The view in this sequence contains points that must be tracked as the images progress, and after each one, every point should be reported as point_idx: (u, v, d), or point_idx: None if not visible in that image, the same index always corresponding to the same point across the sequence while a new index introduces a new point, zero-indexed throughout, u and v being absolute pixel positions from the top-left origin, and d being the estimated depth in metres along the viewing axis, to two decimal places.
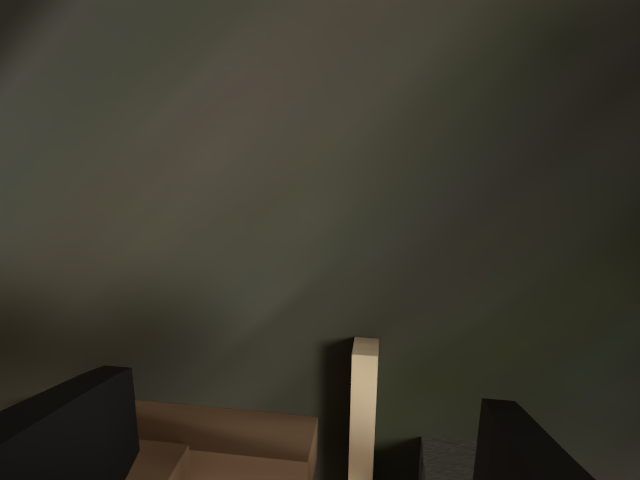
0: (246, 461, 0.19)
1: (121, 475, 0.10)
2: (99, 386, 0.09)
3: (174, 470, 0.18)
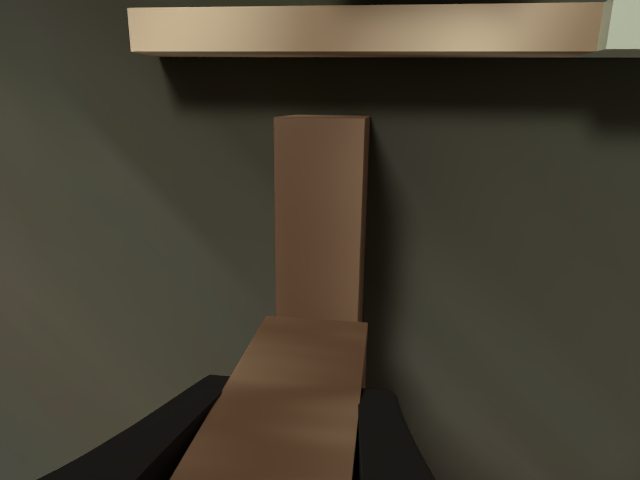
0: (285, 224, 0.11)
1: None
2: None
3: (254, 341, 0.11)
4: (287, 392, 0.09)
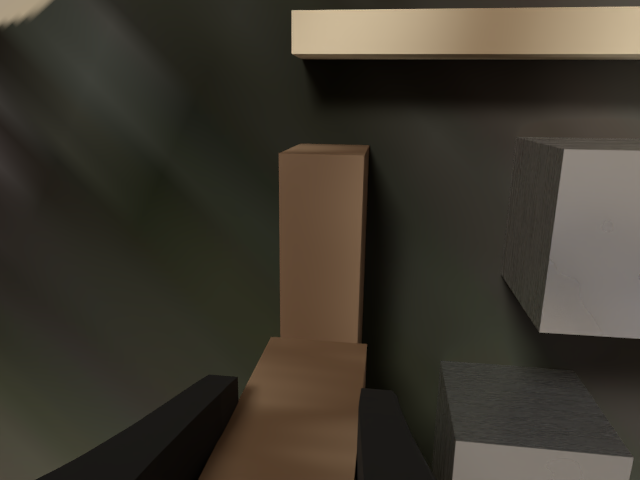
0: (289, 252, 0.12)
1: None
2: (218, 397, 0.09)
3: (260, 363, 0.12)
4: (292, 415, 0.10)
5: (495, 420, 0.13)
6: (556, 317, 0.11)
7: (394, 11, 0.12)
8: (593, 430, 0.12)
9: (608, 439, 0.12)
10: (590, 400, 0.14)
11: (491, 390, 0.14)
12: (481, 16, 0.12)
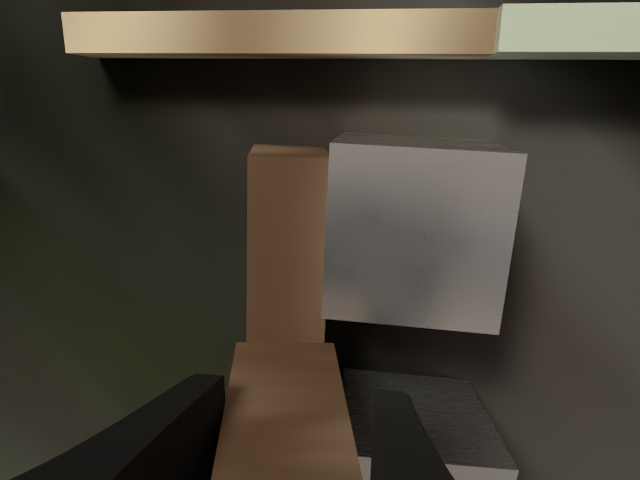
0: (257, 255, 0.12)
1: None
2: (203, 396, 0.09)
3: (234, 370, 0.11)
4: (283, 420, 0.10)
5: None
6: (335, 304, 0.11)
7: (152, 13, 0.13)
8: (484, 443, 0.13)
9: (497, 451, 0.12)
10: (482, 412, 0.14)
11: None
12: (228, 18, 0.12)
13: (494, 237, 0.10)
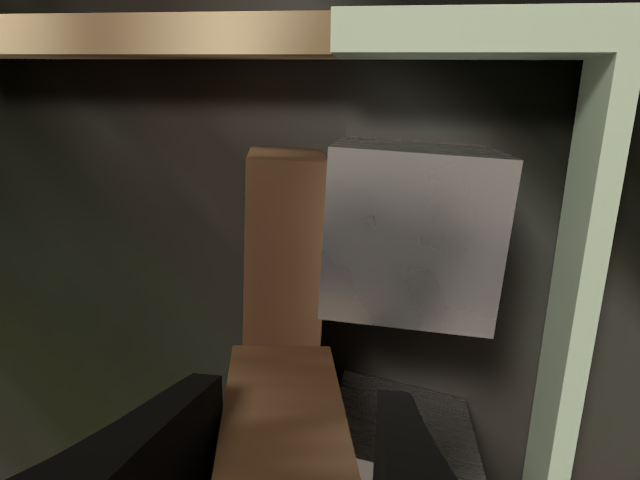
0: (254, 259, 0.12)
1: None
2: (200, 395, 0.09)
3: (231, 374, 0.11)
4: (282, 425, 0.10)
5: None
6: (332, 305, 0.11)
7: (15, 15, 0.13)
8: (462, 461, 0.13)
9: (473, 471, 0.13)
10: (470, 432, 0.14)
11: None
12: (86, 20, 0.13)
13: (489, 242, 0.11)
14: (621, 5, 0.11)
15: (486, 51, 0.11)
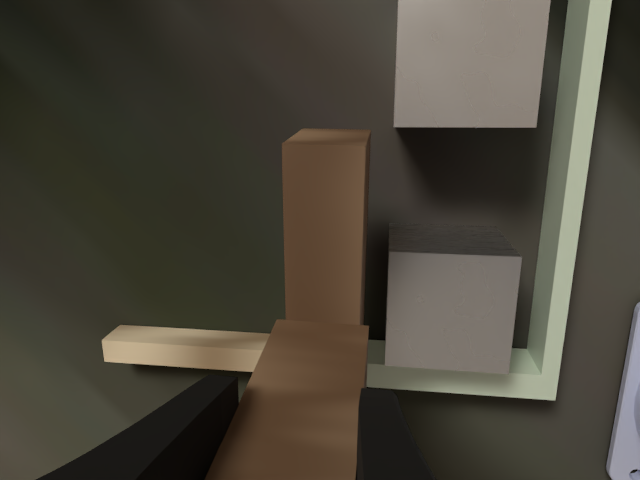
0: (293, 240, 0.13)
1: None
2: (218, 397, 0.09)
3: (267, 346, 0.12)
4: (299, 397, 0.10)
5: (424, 244, 0.16)
6: (405, 113, 0.14)
7: None
8: (497, 247, 0.16)
9: (506, 250, 0.16)
10: (502, 237, 0.17)
11: (425, 234, 0.18)
12: None
13: (530, 43, 0.13)
14: None
15: None
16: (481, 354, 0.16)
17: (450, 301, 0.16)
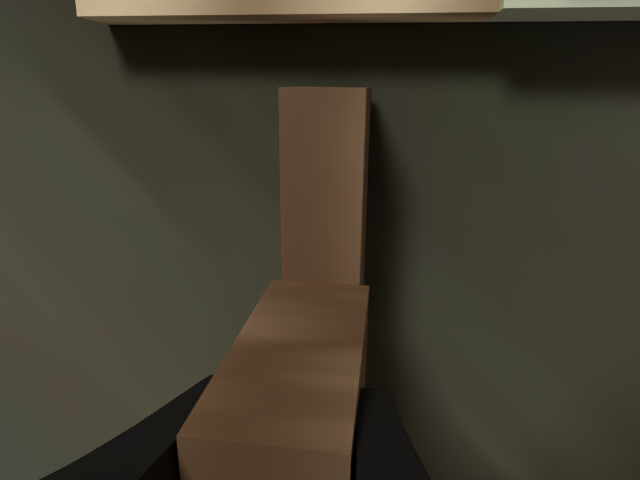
0: (290, 192, 0.12)
1: None
2: None
3: (261, 302, 0.11)
4: (294, 345, 0.10)
5: None
6: None
7: None
8: None
9: None
10: None
11: None
12: None
13: None
14: None
15: None
16: None
17: None
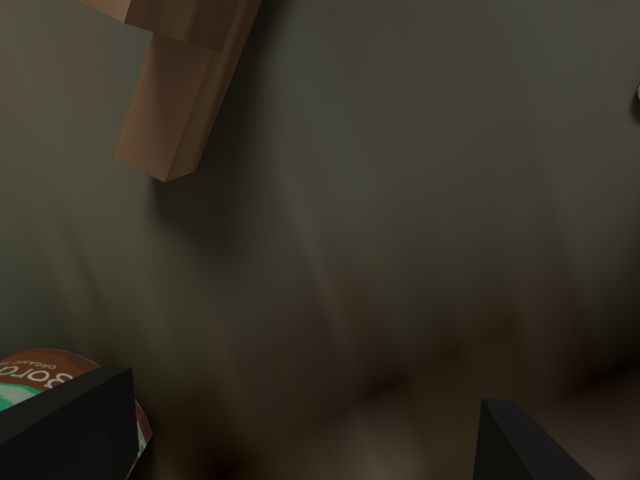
0: None
1: (121, 475, 0.10)
2: (99, 386, 0.09)
3: None
4: None
5: None
6: None
7: None
8: None
9: None
10: None
11: None
12: None
13: None
14: None
15: None
16: None
17: None
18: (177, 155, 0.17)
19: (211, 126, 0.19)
